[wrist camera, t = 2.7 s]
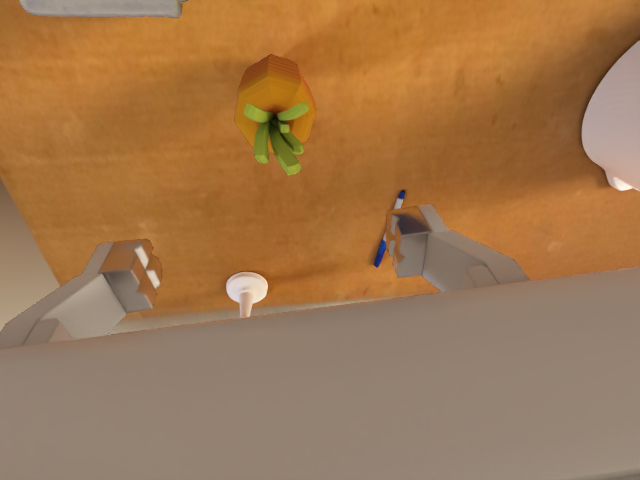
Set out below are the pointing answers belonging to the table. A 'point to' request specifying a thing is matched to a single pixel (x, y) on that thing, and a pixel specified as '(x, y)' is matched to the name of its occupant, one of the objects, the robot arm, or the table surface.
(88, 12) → the incense holder
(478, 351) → the robot arm
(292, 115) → the carrot
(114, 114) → the table surface
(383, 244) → the ballpoint pen
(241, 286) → the chess piece
